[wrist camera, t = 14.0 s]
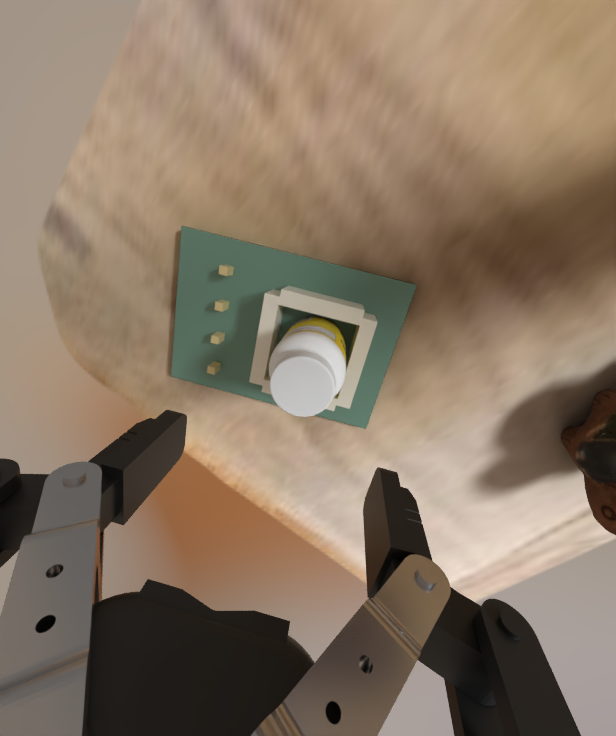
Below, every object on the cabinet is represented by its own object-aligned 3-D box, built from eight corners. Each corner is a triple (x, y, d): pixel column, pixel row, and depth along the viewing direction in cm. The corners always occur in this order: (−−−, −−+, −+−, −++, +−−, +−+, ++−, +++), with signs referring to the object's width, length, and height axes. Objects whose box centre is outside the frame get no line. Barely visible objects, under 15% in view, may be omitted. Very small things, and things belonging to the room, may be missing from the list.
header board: (414, 284, 25) (425, 288, 22) (365, 423, 31) (367, 446, 27) (187, 227, 26) (160, 222, 22) (176, 373, 31) (153, 388, 27)
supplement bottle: (335, 379, 28) (329, 438, 19) (279, 362, 28) (247, 412, 19) (354, 325, 26) (359, 361, 17) (295, 306, 26) (267, 332, 17)
